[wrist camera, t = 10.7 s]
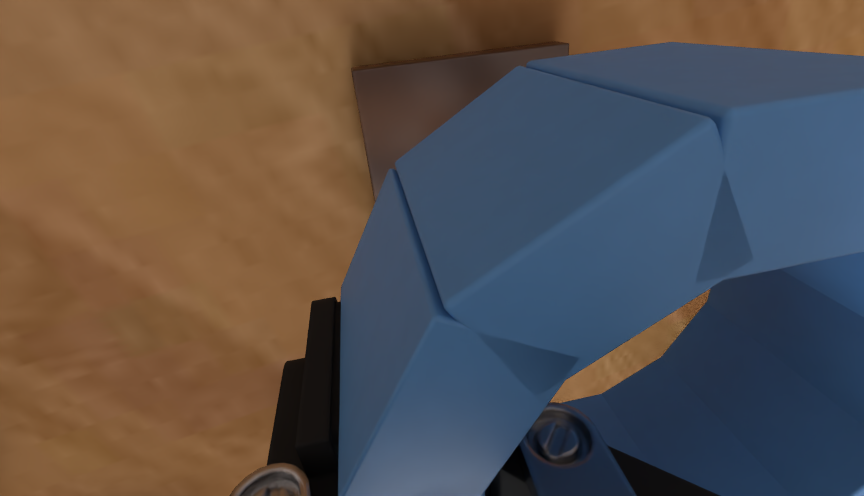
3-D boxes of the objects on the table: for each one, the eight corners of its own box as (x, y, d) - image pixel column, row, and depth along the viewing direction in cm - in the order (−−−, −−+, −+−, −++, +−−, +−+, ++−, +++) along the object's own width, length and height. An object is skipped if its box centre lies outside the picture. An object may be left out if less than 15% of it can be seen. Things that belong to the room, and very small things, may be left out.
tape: (289, 91, 8) (215, 188, 3) (865, 15, 9) (1355, 13, 5) (388, 483, 14) (409, 701, 9) (726, 403, 15) (882, 560, 11)
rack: (350, 67, 19) (357, 110, 10) (555, 41, 21) (722, 60, 11) (384, 252, 24) (407, 392, 15) (547, 224, 25) (660, 337, 16)
